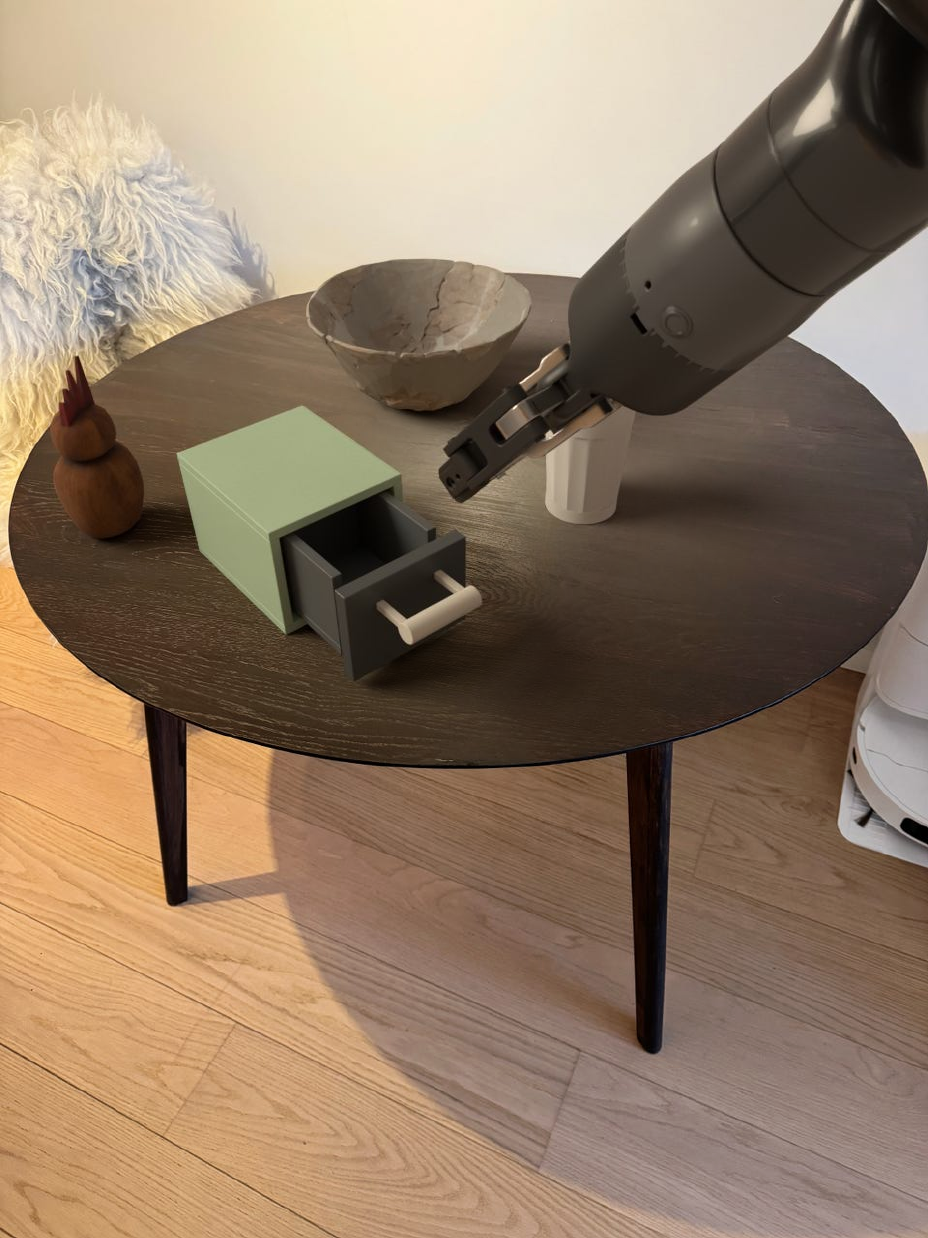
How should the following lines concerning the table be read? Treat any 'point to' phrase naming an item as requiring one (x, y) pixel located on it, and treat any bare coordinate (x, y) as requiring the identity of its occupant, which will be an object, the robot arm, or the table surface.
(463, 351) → the ceramic bowl
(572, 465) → the cup
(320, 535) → the fryer drawer
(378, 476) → the green drawer cabinet
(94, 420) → the wooden figurine
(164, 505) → the table surface
